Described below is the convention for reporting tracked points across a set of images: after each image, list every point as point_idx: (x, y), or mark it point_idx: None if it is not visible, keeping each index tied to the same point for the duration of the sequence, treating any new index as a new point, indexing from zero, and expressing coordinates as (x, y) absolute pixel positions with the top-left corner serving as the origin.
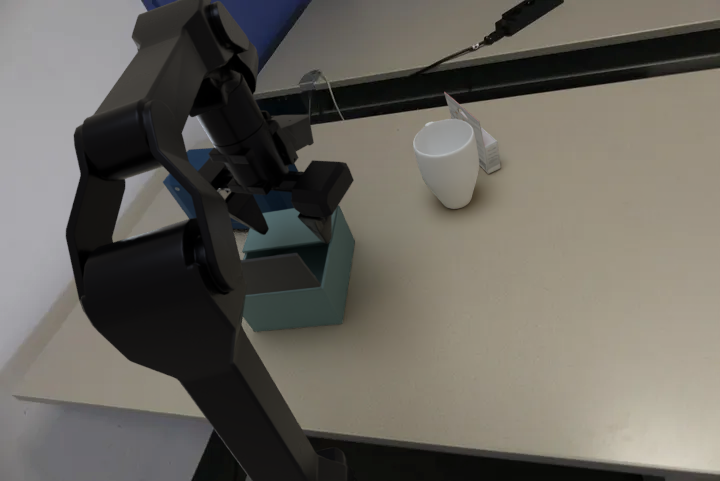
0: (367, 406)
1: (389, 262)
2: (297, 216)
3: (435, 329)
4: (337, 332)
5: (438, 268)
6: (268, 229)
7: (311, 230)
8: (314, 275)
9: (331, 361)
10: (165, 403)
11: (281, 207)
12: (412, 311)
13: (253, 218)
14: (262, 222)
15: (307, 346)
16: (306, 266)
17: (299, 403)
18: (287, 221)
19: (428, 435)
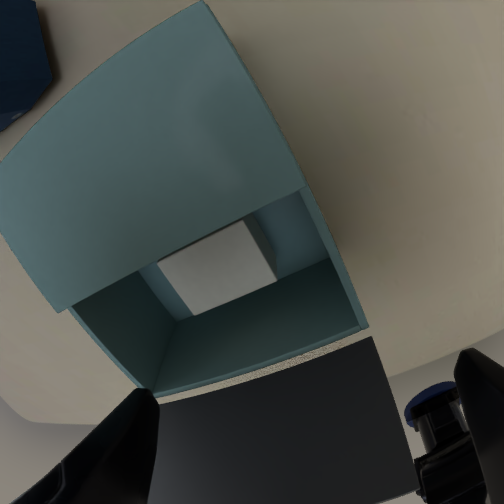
0: (428, 341)
1: (359, 76)
2: (91, 132)
3: (491, 207)
4: None
5: (460, 76)
6: (149, 390)
7: (489, 484)
8: (242, 220)
9: None
10: None
11: (4, 92)
12: (453, 185)
13: (133, 490)
14: (138, 435)
15: None
16: (401, 424)
17: None
18: (75, 168)
19: (493, 331)
